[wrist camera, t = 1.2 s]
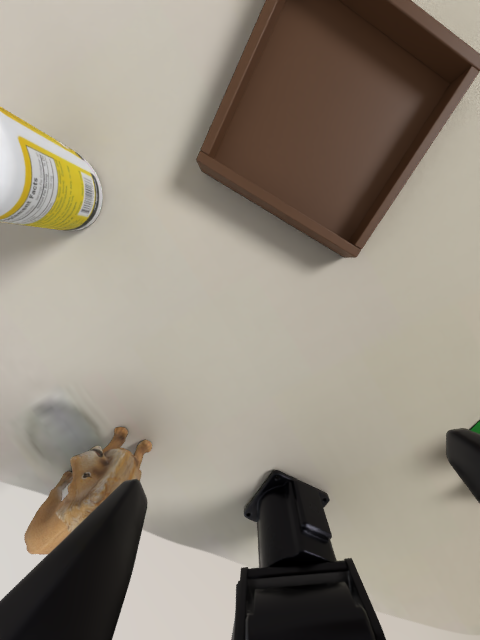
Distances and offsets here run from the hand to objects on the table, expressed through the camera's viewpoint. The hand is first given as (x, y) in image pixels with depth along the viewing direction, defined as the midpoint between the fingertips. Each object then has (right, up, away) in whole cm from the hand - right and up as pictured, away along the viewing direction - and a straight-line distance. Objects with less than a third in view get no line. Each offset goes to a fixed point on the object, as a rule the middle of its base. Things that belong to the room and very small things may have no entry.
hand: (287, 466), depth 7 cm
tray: (+4, +17, +9) cm, 20 cm away
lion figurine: (-14, -9, +16) cm, 23 cm away
